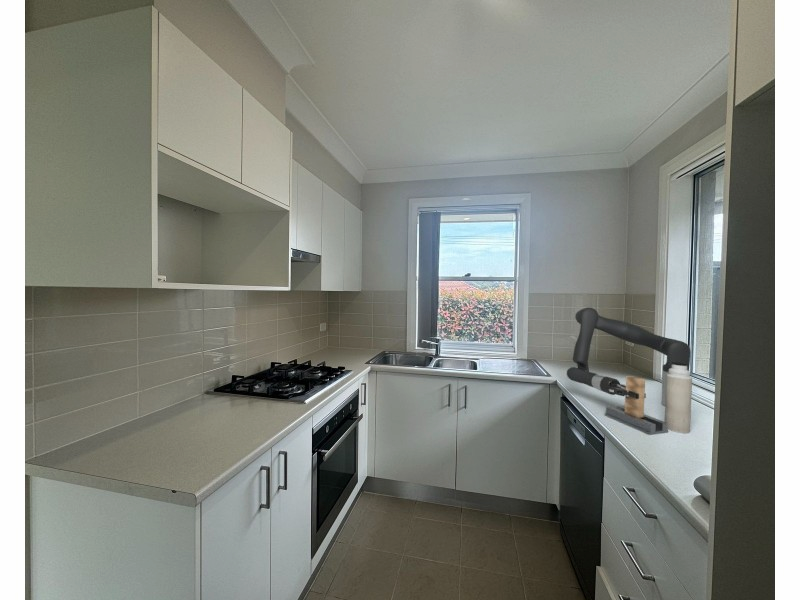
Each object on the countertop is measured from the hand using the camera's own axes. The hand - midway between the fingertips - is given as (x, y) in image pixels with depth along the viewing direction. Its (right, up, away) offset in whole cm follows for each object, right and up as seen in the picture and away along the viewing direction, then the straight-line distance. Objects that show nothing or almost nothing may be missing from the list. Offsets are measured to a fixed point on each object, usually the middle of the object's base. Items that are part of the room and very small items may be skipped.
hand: (641, 396), depth 132 cm
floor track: (-1, -13, +3) cm, 13 cm away
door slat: (-1, -9, +3) cm, 9 cm away
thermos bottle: (+13, -13, -2) cm, 19 cm away
